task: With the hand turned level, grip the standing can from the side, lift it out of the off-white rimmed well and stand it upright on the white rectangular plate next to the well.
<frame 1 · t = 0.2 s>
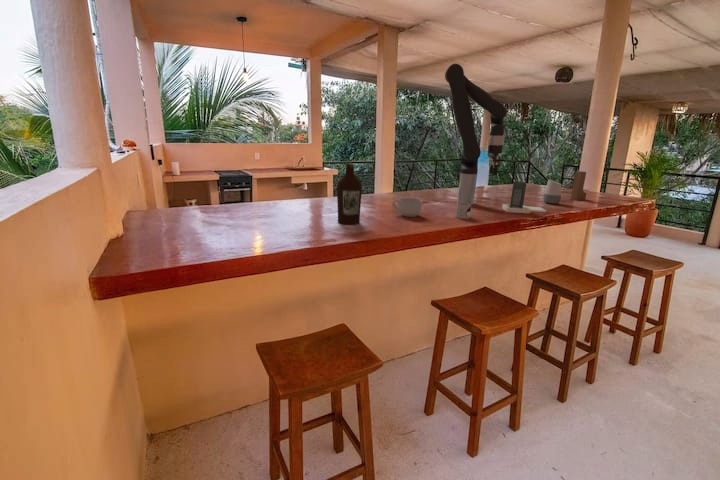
hand: (493, 174, 205), 17 cm above the table, tool pointing down, fingers open, 8 cm apart
wooden block: (577, 199, 238), on the table
white rectangular plate: (535, 210, 199), on the table
olive oil: (348, 222, 160), on the table
mug: (462, 217, 178), on the table
smart speaker: (551, 203, 221), on the table
can: (515, 210, 197), resting in well rim
well rim: (515, 210, 197), on the table
teacup: (406, 215, 177), on the table
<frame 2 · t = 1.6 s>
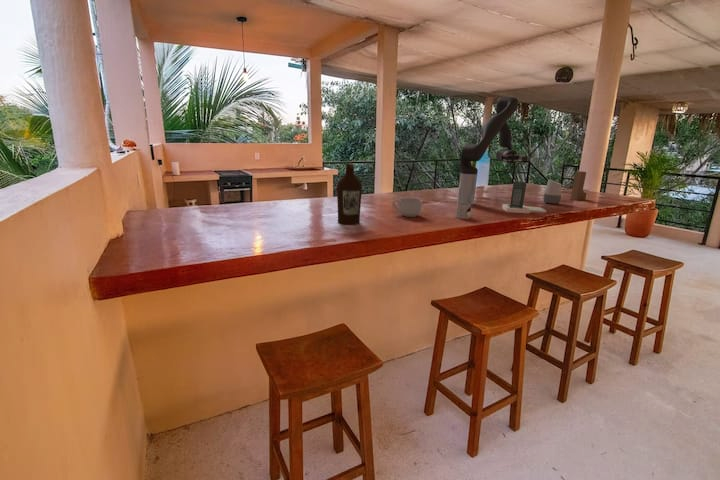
hand: (516, 158, 204), 26 cm above the table, tool horizontal, fingers open, 8 cm apart
nothing on the table moved.
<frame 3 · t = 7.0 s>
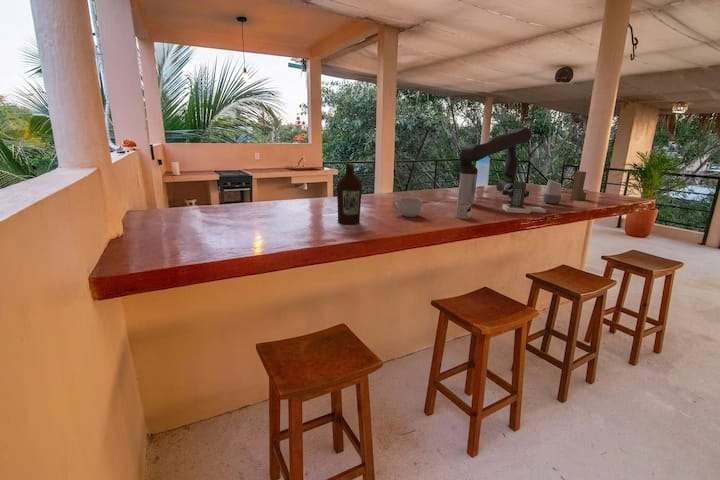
hand: (518, 195, 193), 9 cm above the table, tool horizontal, fingers closed on can, 6 cm apart
can: (515, 210, 197), resting in well rim, touching gripper
everything else where it was.
when the fingers open (11 cm above the table, at t = 13.8 s): can drops 1 cm, resting on white rectangular plate.
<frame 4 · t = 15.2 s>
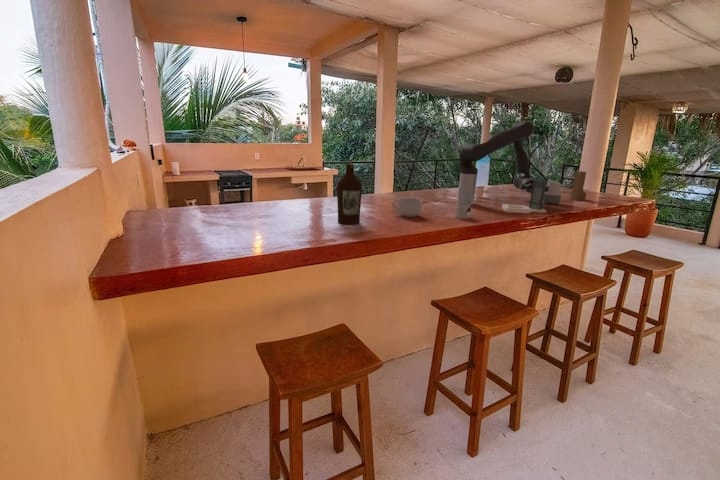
hand: (537, 189, 198), 11 cm above the table, tool horizontal, fingers open, 8 cm apart
can: (535, 208, 199), point 1 cm above the table, touching white rectangular plate
everything else where it was.
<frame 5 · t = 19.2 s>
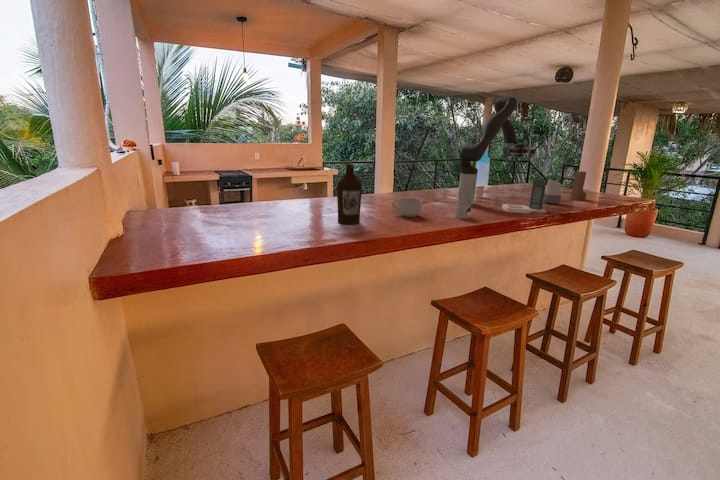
hand: (524, 151, 206), 30 cm above the table, tool horizontal, fingers open, 8 cm apart
nothing on the table moved.
at the end: can inside the target area on the white rectangular plate (0.2 cm from its centre), point 0.8 cm above the white rectangular plate's base; can tilted 0°; the gripper is holding nothing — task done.
